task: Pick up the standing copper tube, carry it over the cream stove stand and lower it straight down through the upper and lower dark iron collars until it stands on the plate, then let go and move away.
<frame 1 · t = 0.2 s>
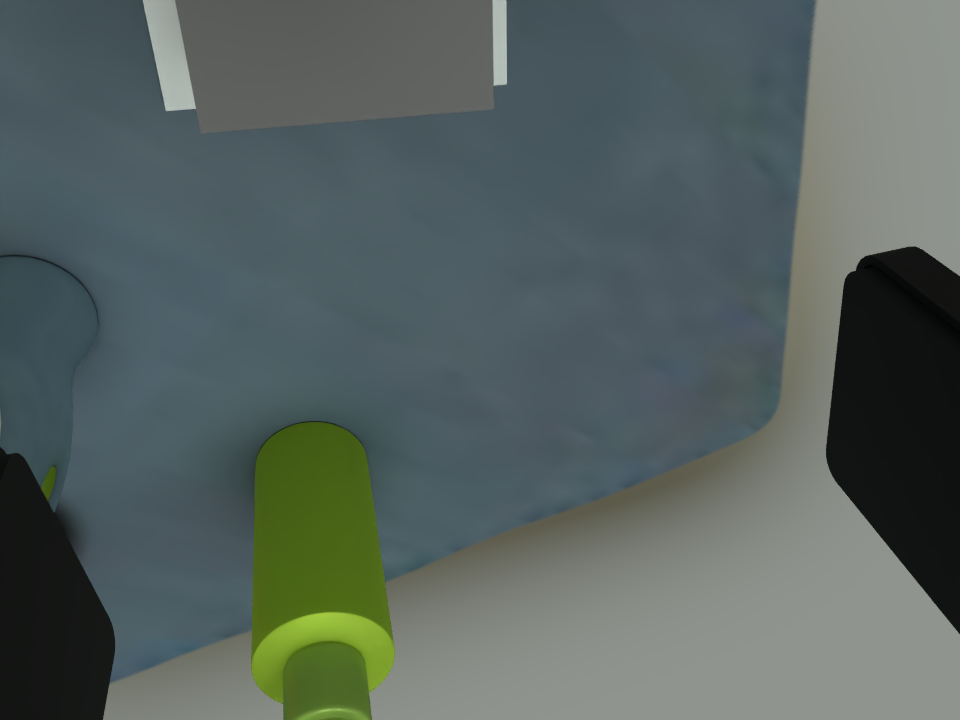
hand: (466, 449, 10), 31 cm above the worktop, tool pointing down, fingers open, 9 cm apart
soap dispenser: (303, 468, 49), on the worktop
beer glass: (27, 313, 41), on the worktop
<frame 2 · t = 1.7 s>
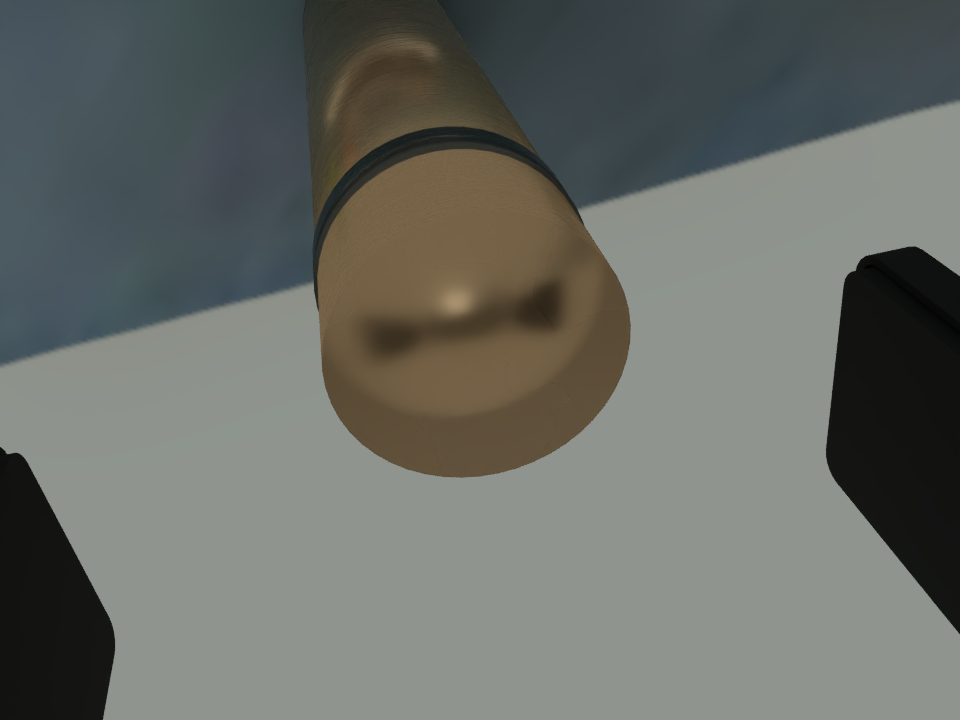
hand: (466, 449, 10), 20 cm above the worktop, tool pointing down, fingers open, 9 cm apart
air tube: (372, 27, 27), on the worktop
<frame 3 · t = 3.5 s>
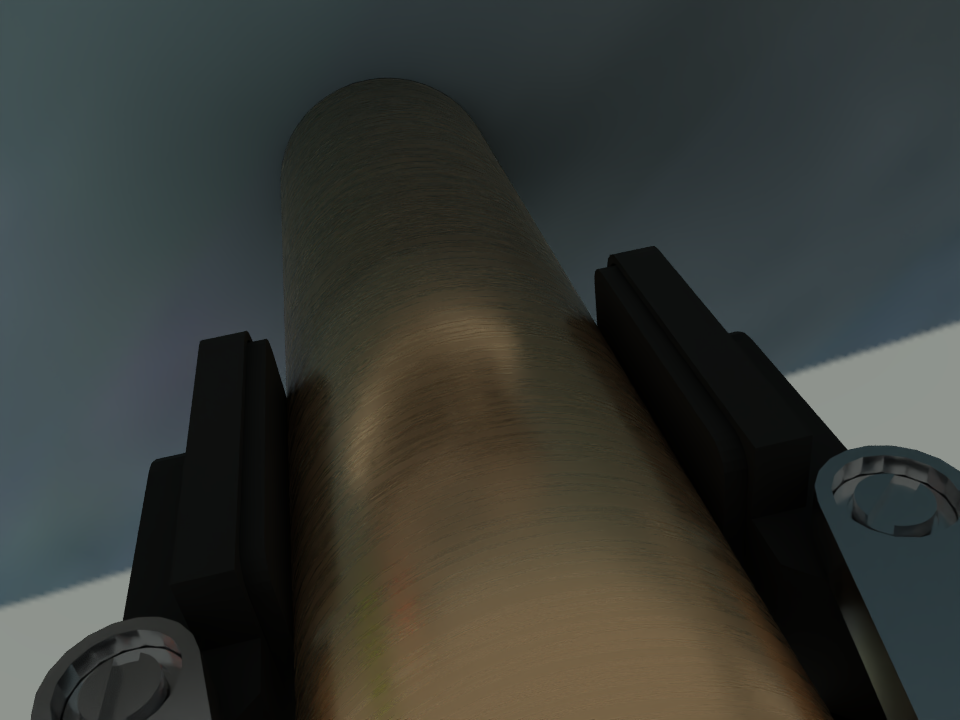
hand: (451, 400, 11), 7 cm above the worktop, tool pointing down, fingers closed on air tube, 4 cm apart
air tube: (388, 184, 17), on the worktop, touching gripper
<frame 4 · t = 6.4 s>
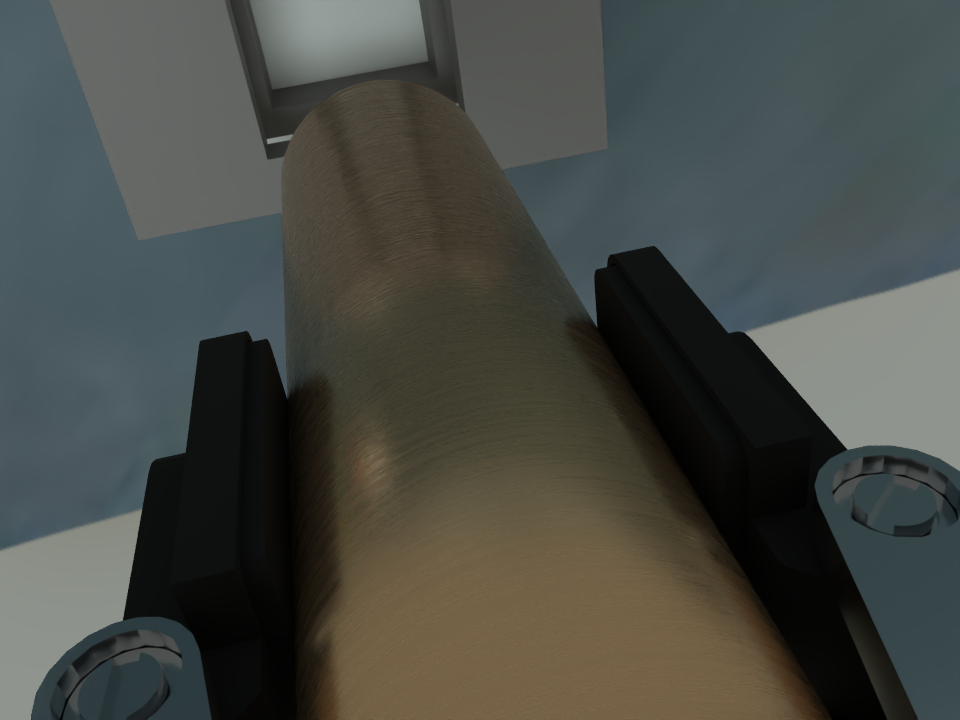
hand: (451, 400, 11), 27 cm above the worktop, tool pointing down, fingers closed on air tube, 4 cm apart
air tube: (388, 185, 17), point 20 cm above the worktop, touching gripper
when the fingers open (10 cm above the worktop, at t = 9.5 s): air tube drops 2 cm, resting on collar stand.
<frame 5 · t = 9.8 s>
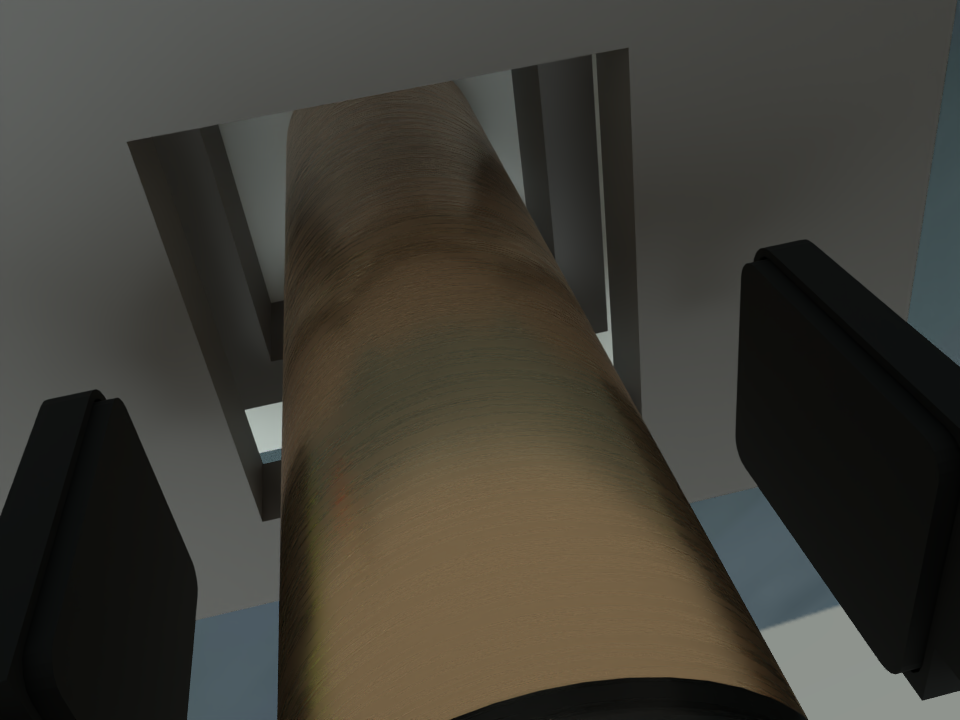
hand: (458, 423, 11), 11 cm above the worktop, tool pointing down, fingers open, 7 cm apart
collar stand: (372, 134, 20), on the worktop
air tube: (384, 150, 19), point 1 cm above the worktop, touching collar stand
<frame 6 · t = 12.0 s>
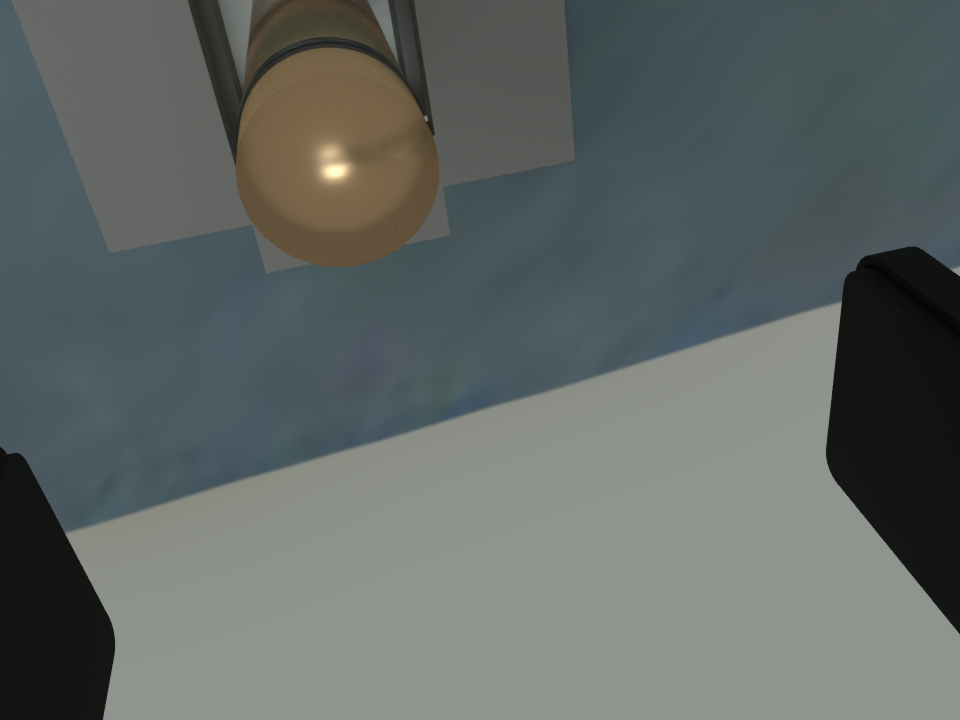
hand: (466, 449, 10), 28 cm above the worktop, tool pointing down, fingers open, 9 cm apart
collar stand: (304, 0, 34), on the worktop
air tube: (309, 6, 33), point 1 cm above the worktop, touching collar stand
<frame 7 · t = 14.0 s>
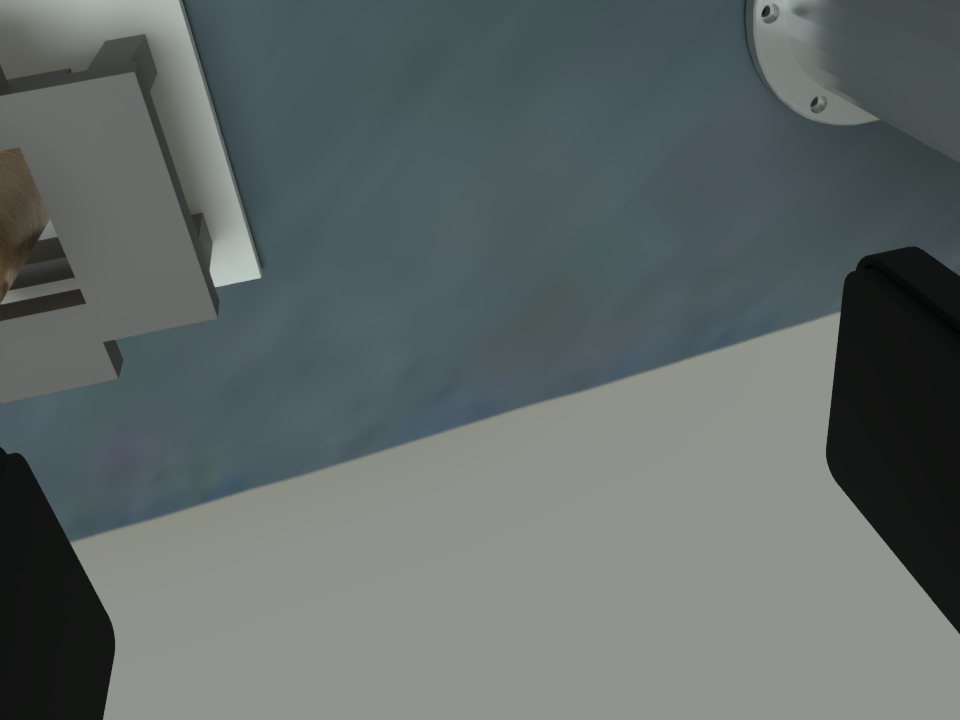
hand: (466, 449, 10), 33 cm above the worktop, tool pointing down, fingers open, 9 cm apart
collar stand: (16, 169, 40), on the worktop
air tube: (14, 178, 39), point 1 cm above the worktop, touching collar stand
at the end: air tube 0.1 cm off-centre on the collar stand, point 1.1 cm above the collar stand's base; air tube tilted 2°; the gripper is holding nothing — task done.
